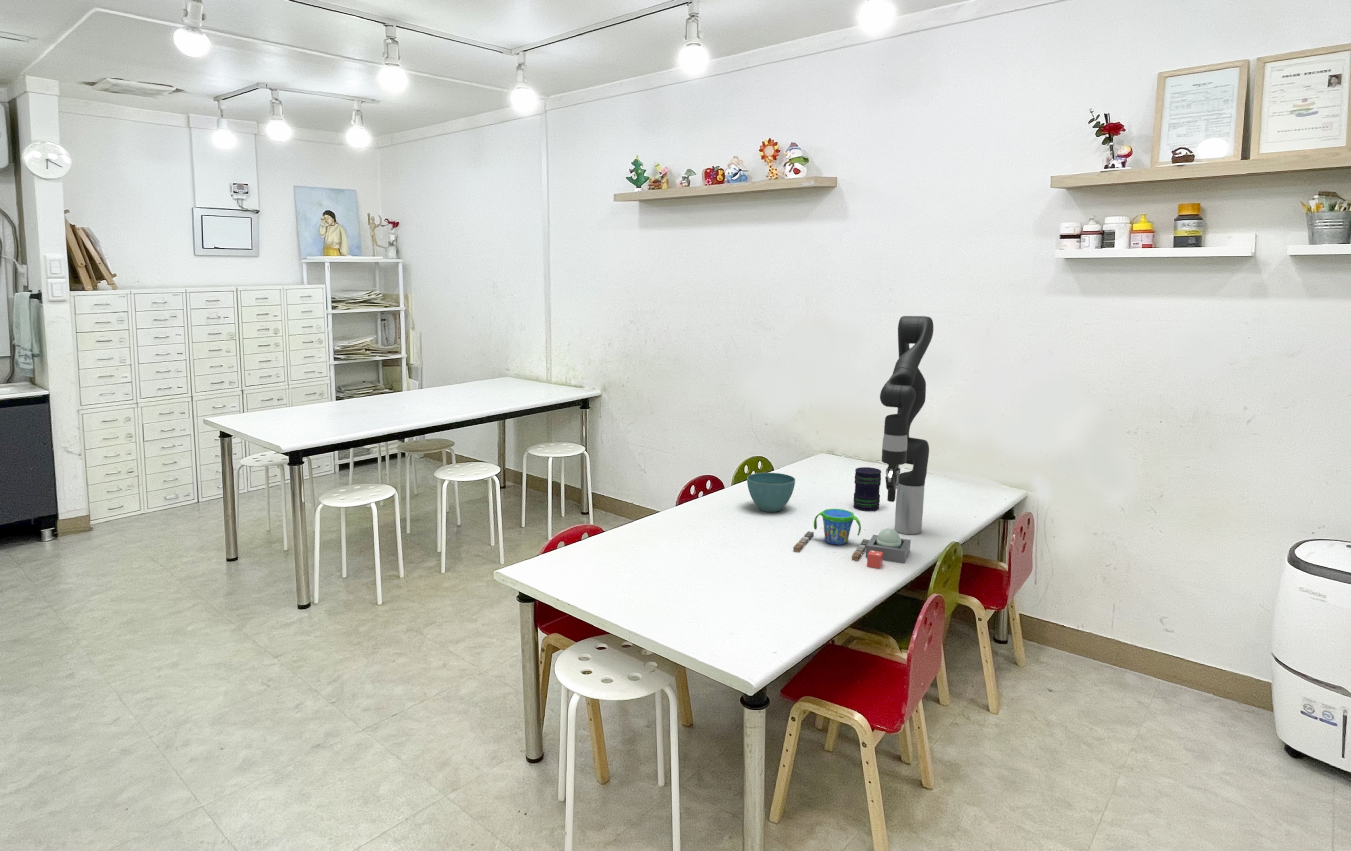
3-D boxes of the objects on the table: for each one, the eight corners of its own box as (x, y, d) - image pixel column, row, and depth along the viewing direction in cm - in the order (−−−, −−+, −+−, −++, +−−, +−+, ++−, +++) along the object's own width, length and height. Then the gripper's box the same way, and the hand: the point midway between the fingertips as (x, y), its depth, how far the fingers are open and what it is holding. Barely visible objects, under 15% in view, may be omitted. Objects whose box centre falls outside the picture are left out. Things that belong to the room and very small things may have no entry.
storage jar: (851, 510, 311) (853, 472, 308) (854, 503, 320) (856, 466, 317) (878, 512, 308) (880, 474, 305) (880, 505, 317) (882, 468, 314)
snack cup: (863, 541, 275) (865, 512, 273) (854, 550, 266) (855, 520, 264) (819, 533, 282) (820, 505, 280) (808, 542, 273) (810, 513, 271)
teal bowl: (737, 505, 315) (738, 474, 313) (777, 500, 323) (778, 470, 321) (761, 518, 299) (762, 486, 297) (803, 512, 307) (804, 481, 304)
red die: (869, 562, 255) (870, 549, 254) (882, 564, 253) (883, 551, 253) (866, 566, 251) (867, 553, 251) (880, 568, 250) (880, 555, 249)
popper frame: (872, 546, 270) (873, 534, 269) (909, 551, 265) (910, 539, 264) (865, 557, 259) (866, 545, 259) (904, 563, 254) (904, 551, 254)
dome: (878, 545, 267) (879, 524, 266) (902, 548, 264) (903, 527, 263) (874, 552, 260) (875, 530, 259) (898, 555, 257) (899, 533, 256)
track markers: (807, 535, 280) (808, 531, 280) (869, 544, 272) (869, 539, 272) (793, 551, 264) (793, 546, 264) (857, 561, 256) (858, 556, 256)
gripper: (903, 453, 248) (899, 507, 251) (910, 445, 260) (906, 497, 263) (878, 450, 251) (875, 504, 255) (886, 442, 263) (883, 494, 266)
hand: (891, 501), depth 259 cm, fingers closed
